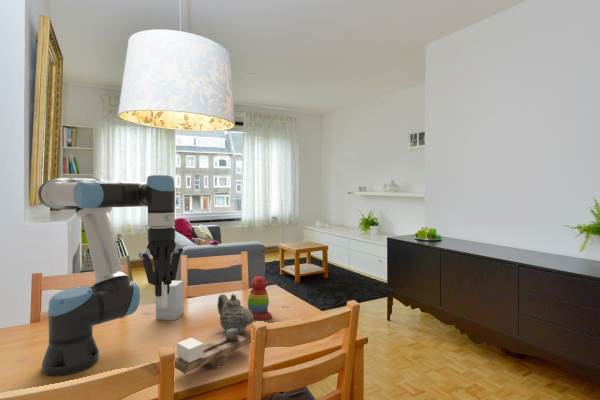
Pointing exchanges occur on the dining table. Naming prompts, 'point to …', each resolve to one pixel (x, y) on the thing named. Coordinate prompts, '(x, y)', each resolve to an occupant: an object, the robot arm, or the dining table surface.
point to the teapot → (233, 313)
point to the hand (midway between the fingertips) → (162, 306)
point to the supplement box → (172, 302)
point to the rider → (190, 350)
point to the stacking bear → (259, 299)
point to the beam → (214, 352)
